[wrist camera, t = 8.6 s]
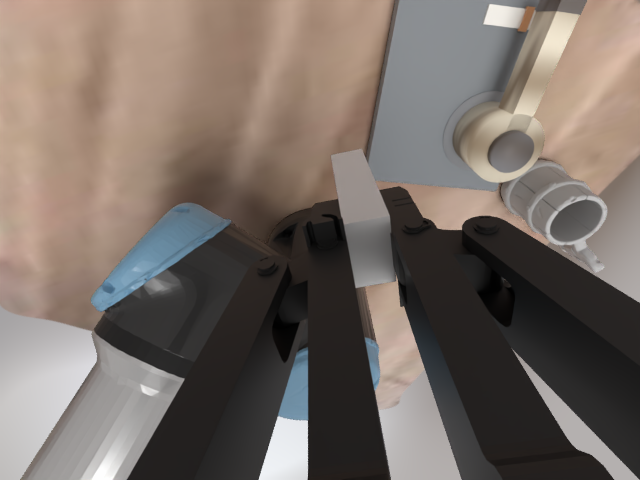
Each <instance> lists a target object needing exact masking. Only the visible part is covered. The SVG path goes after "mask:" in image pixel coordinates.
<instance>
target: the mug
mask: <svg viewBox="0 0 640 480" xmlns="http://www.w3.org/2000/svg"><path fill="white" fill-rule="evenodd" d="M501 197H502V199H503V201H504V204H505V206H506V208H507V209H508V210H509V211H510V212H511V213H512V214H515V215H517V216H521V217H522V218H523V219H524V220H525V221H526V223H527V224H528V226H529V227H530V228H531V229H532V231H534V232H536V233H539V234H542V235H543V236H544V237H545V238H546V239H548V240H549V241H550V242H552V243H554V244H557V245H558V246H559V248H560V249H561V250H563V251H564V252H568V254H569V255H570V256H572V257H574V258H576V259H577V260H579V261H581V262H583V263H585V264H586V265H587V266H588V267H589V268H590V269H591V270H592V271H593V272H598V271H600V270H602V269H604V268H605V266H604V265H603V264H602V263H601V262H600V261H599V260H598V258H597V257H596V255H595V254H594V253H593V251H591V250H590V248H589V247H588V246H587V245H586V241H585V239H587V238H588V237H590V236H591V235H592V234H593V233H595V232H596V231H597V230H598V229H599V228H600V227H601V225H602V224H603V222H604V221H605V219H606V215H607V206H606V205H605V203H604V202H603V200H602V199H601V198H599V197H598V196H597V195H595V194H594V193H592V191H591V189H590V188H589V187H588V186H587V184H586V183H585V182H584V181H580V180H576V179H573V178H571V177H570V176H568V175H567V173H566V171H565V170H564V169H563V167H562V166H561V165H560V164H556V163H555V162H552V161H546V160H541V159H539V160H537V161H536V162H535V163H534V165H533V166H532V167H531V168H530V169H529V170H527V171H526V172H525V173H524V174H522V175H521V176H519V177H517V178H515V179H513V180H510V181H506V182H503V184H502V186H501Z"/></svg>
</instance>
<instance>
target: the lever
mask: <svg viewBox="0 0 640 480" xmlns="http://www.w3.org/2000/svg"><path fill="white" fill-rule="evenodd" d="M586 2H587V0H540V1H539V4H538V6H537V9H536V11H535V12H536V13H535V16H534V18H533V21H532V24H531V26H530V29H529V31H528V34H527V36H526V39H525V41H524V44H523V46H522V49H521V51H520V54H519V56H518V59H517V62H516V64H515V67H514V69H513V72H512V74H511V77H510V79H509V82H508V84H507V87H506V89H505V92H504V94H503V97H502V100H501V102H496V101H490V102H484V103H481V104H478V105H476V106H474V107H473V108H471V109H470V110H469V111H467V112H466V113H465V114H464V115H463V116H462V117H461V119H460V120H459V122H458V123H457V125H456V127H455V130H454V133H453V147H454V150H455V152H456V154H457V155H458V156H459V157H460V158H461V159H462V160H463V161H464V162H465V163H466V164H467V165H468V166H469V167H470V168H471V169H472V170H473V171H474V172H475V173H476V174H478V175H479V176H480V177H481V178H482V179H484V180H486V181H489V182H495V183H499V182H506V181H510V180H513V179H515V178H517V177H519V176H521V175H522V174H524V173H525V172H526V171H527V170H529V169H530V168H531V167H532V166H533V165H534V163H535V162H536V161H537V159H538V158H539V156H540V154H541V152H542V150H543V146H544V141H545V135H544V130H543V127H542V125H541V124H540V123H539V121H537V120H536V119H535V118H533V116H534V114H535V111H536V109H537V107H538V105H539V103H540V101H541V98H542V96H543V94H544V92H545V90H546V87H547V85H548V83H549V81H550V79H551V76H552V74H553V72H554V70H555V68H556V65H557V63H558V61H559V59H560V57H561V54H562V52H563V50H564V48H565V46H566V44H567V41H568V39H569V37H570V35H571V33H572V30H573V28H574V26H575V24H576V22H577V19H578V17H579V15H581V13H582V11H583V8H584V6H585V4H586Z"/></svg>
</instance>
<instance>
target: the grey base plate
mask: <svg viewBox="0 0 640 480" xmlns="http://www.w3.org/2000/svg"><path fill="white" fill-rule="evenodd" d="M539 1H540V0H395V4H394V9H393V15H392V20H391V26H390V31H389V36H388V42H387V47H386V52H385V58H384V63H383V69H382V74H381V79H380V85H379V90H378V95H377V101H376V106H375V112H374V117H373V122H372V128H371V133H370V138H369V144H368V149H367V155H366V160H367V163H368V165H369V167H370V170H371V172H372V175H373V177H374V179H375V181H385V182H396V183H408V184H419V185H430V186H441V187H452V188H464V189H475V190H486V191H496V190H497V188H498V185H499V183H500V182H499V183H495V182H489V181H486V180H484V179H482V178H481V177H480V176H479V175H478V174H476V173H475V172H474V171H473V170H472V169H471V168H470V167H469V166H468V165H467V164H466V163H465V162H464V161H463V160H462V159H461V158H460V157H459V156H458V155H457V154H456V152H455V150H454V147H453V133H454V130H455V127H456V125H457V123H458V122H459V120H460V119H461V117H462V116H463V115H464V114H465V113H466V112H467V111H469V110H470V109H471V108H473V107H474V106H476V105H478V104H481V103H484V102H490V101H496V102H501V100H502V97H503V94H504V92H505V89H506V87H507V84H508V82H509V79H510V77H511V74H512V72H513V69H514V67H515V64H516V62H517V59H518V56H519V54H520V51H521V49H522V46H523V44H524V41H525V39H526V36H527V34H528V31H529V29H530V26H531V24H532V21H533V18H534V16H535V13H536V12H535V11H536V9H537V6H538V4H539Z"/></svg>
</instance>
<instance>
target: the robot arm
mask: <svg viewBox="0 0 640 480" xmlns="http://www.w3.org/2000/svg"><path fill="white" fill-rule="evenodd" d="M331 159H332V165H333V171H334V177H335V183H336V189H337V195H338V199H336V200H331V201H326V202H321V203H316V204H315V205H314V206H313V207H312V209H306V210H302V211H299V212H296V213H294V214H292V215H290V216H288V217H286V218H285V219H284V220H282V221H281V222H280V223H279V224H278V225H277V226H276V227H275V229H274V230H273V232H272V233H271V235H270V238H269V241H268V245H266V244H264V243H263V242H261V241H260V240H258V239H256V238H255V237H253V236H251V235H250V234H248V233H247V232H245V231H243V230H242V229H240V228H238V227H237V226H235V225H234V224H232V223H231V222H232V221H231V220H230V219H223V218H222V217H220V216H218V215H216V214H214V213H213V212H211V211H209V210H207V209H205V208H203V207H202V206H200V205H198V204H195V203H182V204H179V205H177V206H175V207H173V208H172V209H170V210H169V211H168V212H167V213H166V214H165V215H164V216H163V217H162V218H161V219H160V220H159V221H158V222H157V223H156V224H155V225H154V226H153V227H152V228H151V229H150V230H149V231H148V232H147V233H146V234H145V235H144V236H143V237H142V238H141V239H140V241H139V242H138V243H137V244H136V245H135V246H134V247H133V248H132V249H131V250H130V251H129V253H128V254H127V255H126V256H125V257H124V258H123V259H122V260H121V262H120V263H119V264H118V265H117V266H116V267H115V269H114V270H113V271H112V272H111V273H110V275H109V277H108V278H107V279H106V280H105V281H104V282H103V284H102V285H101V286H100V287H99V288H98V289H97V290H96V291H95V293H94V294H93V296H92V298H91V303H92V304H93V305H94V306H95V307H96V310H98V311H100V312H102V311H105V313H104V315H103V316H102V318H101V319H100V321H99V322H98V324H97V325H96V327H95V328H94V330H93V331H92V338H93V341H94V345H95V348H96V352H97V362H96V364H95V365H94V367H93V368H92V370H91V371H90V373H89V374H88V376H87V377H86V379H85V381H84V382H83V383H82V385H81V387H80V388H79V390H78V391H77V393H76V394H75V396H74V398H73V399H72V401H71V402H70V404H69V405H68V407H67V409H66V410H65V411H64V413H63V414H62V416H61V417H60V419H59V421H58V422H57V424H56V425H55V427H54V428H53V430H52V431H51V433H50V434H49V436H48V438H47V439H46V441H45V442H44V444H43V445H42V447H41V449H40V450H39V451H38V453H37V454H36V456H35V458H34V459H33V461H32V462H31V464H30V465H29V467H28V468H27V470H26V472H25V473H24V475H23V477H22V478H21V479H20V480H258V479H259V476H260V473H261V469H262V466H263V463H264V459H265V456H266V453H267V450H268V446H269V443H270V439H271V436H272V433H273V430H274V427H275V423H276V420H277V417H278V416H280V417H283V418H287V419H293V420H308V480H391V477H390V472H389V466H388V460H387V455H386V450H385V444H384V439H383V434H382V428H381V423H380V417H379V412H378V406H377V401H376V395H375V390H376V388H377V386H378V383H379V378H380V367H379V359H378V353H379V347H378V344H377V343H376V338H375V333H374V329H373V324H372V319H371V315H370V310H369V305H368V301H367V296H366V291H365V286H371V285H376V284H382V283H388V282H394V281H396V275H397V278H398V286H399V296H400V307H403V306H404V307H405V310H406V313H407V316H408V319H409V322H410V325H411V328H412V331H413V334H414V337H415V340H416V343H417V346H418V349H419V352H420V355H421V359H422V362H423V365H424V368H425V371H426V373H427V376H428V380H429V383H430V385H431V388H432V391H433V395H434V398H435V400H436V403H437V406H438V409H439V412H440V416H441V419H442V422H443V425H444V428H445V431H446V433H447V436H448V440H449V442H450V445H451V449H452V452H453V455H454V457H455V460H456V463H457V467H458V470H459V472H460V476H461V479H462V480H614V479H613V478H612V476H611V475H610V474H609V472H608V471H607V470H606V468H605V467H604V466H603V465H602V464H601V463H600V462H599V461H598V460H596V459H595V458H594V457H593V456H592V455H590V454H587V453H585V452H582V451H579V450H577V449H576V448H575V447H574V446H573V445H572V444H571V443H570V441H569V440H568V439H567V437H566V436H565V434H564V433H563V431H562V429H561V428H560V426H559V425H558V423H557V421H556V420H555V418H554V416H553V415H552V413H551V412H550V410H549V408H548V407H547V405H546V404H545V402H544V400H543V399H542V397H541V395H540V394H539V392H538V391H537V389H536V388H535V386H534V384H533V383H532V381H531V380H530V378H529V376H528V375H527V373H526V371H525V370H524V368H523V366H522V365H521V363H520V361H519V360H518V358H517V357H516V355H515V353H514V352H513V350H514V351H515V352H516V353H517V354H518V355H519V356H520V357H521V358H522V359H523V360H524V361H525V362H526V363H527V364H528V365H529V366H530V367H531V368H532V369H533V370H534V371H535V372H536V374H538V376H539V377H541V379H542V380H543V381H544V382H545V383H546V384H547V385H548V386H549V387H550V388H551V389H552V390H553V391H554V392H555V393H556V394H557V395H558V396H559V397H560V398H561V399H562V400H563V401H564V402H565V403H566V404H567V405H568V406H569V407H570V409H571V410H572V411H573V412H574V413H575V414H577V416H578V417H579V418H580V419H581V420H582V421H583V422H584V423H585V424H586V425H587V426H588V427H589V428H590V429H591V430H592V431H593V432H594V433H595V434H596V435H597V436H598V437H599V438H600V439H601V440H602V441H603V442H604V443H605V444H606V446H608V448H609V449H610V450H611V451H612V452H613V453H614V454H615V455H616V456H617V457H618V458H619V459H620V460H621V461H622V462H623V463H624V464H625V465H626V466H627V467H628V468H629V469H630V470H631V471H632V472H633V473H634V474H635V475H636V476H637V477H638V479H640V303H639V302H637V301H636V300H634V299H632V298H631V297H629V296H627V295H626V294H624V293H623V292H621V291H619V290H617V289H616V288H614V287H613V286H611V285H609V284H608V283H606V282H604V281H603V280H601V279H600V278H598V277H596V276H595V275H593V274H591V273H590V272H588V271H587V270H585V269H583V268H581V267H580V266H578V265H577V264H575V263H574V262H572V261H570V260H569V259H567V258H565V257H564V256H562V255H560V254H559V253H557V252H556V251H554V250H552V249H550V248H549V247H547V246H546V245H544V244H543V243H541V242H539V241H538V240H536V239H534V238H533V237H531V236H529V235H528V234H526V233H525V232H523V231H521V230H520V229H518V228H516V227H515V226H513V225H512V224H510V223H508V222H507V221H505V220H502V219H500V218H498V217H492V216H478V217H473V218H470V219H468V220H466V221H465V222H464V224H463V225H462V230H442V229H437V227H436V226H435V224H434V223H433V222H432V221H431V220H429V219H426V218H423V217H422V215H421V213H420V212H419V210H418V208H417V206H416V205H415V203H414V201H413V200H412V198H411V196H410V195H409V193H408V191H407V190H405V189H403V188H401V187H399V186H398V187H393V188H388V189H383V190H379V189H378V186H377V184H376V182H375V179H374V177H373V175H372V172H371V170H370V167H369V165H368V163H367V160H366V158H365V156H364V153H363V151H362V149H358V150H353V151H348V152H343V153H338V154H334V155H331ZM395 272H396V274H395ZM511 348H512V349H513V350H512V349H511Z"/></svg>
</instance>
